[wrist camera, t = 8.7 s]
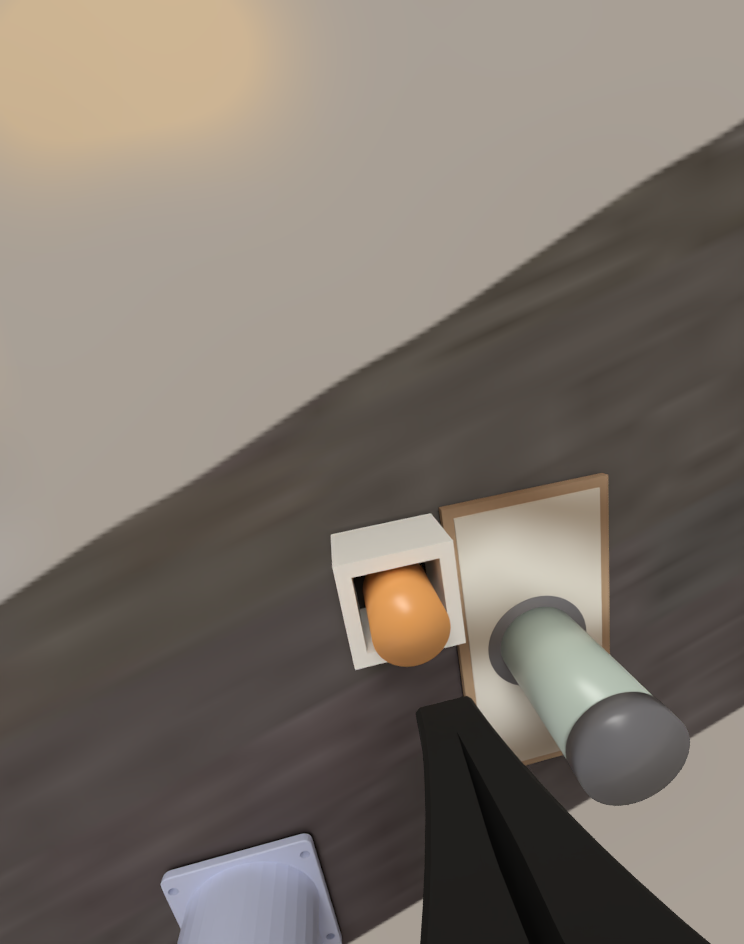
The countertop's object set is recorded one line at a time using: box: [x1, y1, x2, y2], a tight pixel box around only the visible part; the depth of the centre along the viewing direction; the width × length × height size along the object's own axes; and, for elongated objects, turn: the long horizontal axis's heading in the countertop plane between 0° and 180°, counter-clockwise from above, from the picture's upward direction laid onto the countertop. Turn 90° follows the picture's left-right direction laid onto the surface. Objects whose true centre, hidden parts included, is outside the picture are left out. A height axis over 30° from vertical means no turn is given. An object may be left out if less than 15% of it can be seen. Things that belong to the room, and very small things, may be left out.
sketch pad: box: [439, 473, 610, 765], centre depth 19 cm, size 16×8×1 cm, turn 10°
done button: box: [363, 563, 451, 667], centre depth 14 cm, size 3×3×3 cm
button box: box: [331, 513, 466, 670], centre depth 16 cm, size 5×5×3 cm
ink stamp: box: [501, 607, 690, 806], centre depth 16 cm, size 4×4×6 cm
